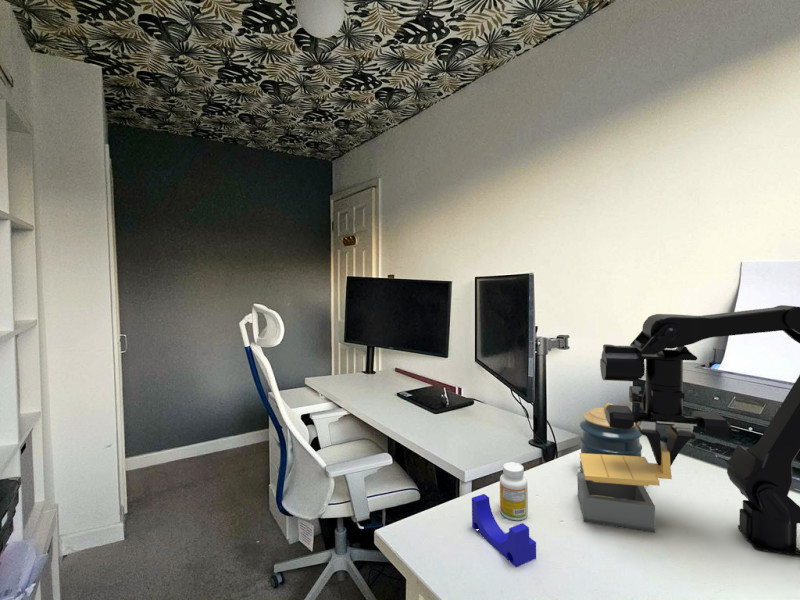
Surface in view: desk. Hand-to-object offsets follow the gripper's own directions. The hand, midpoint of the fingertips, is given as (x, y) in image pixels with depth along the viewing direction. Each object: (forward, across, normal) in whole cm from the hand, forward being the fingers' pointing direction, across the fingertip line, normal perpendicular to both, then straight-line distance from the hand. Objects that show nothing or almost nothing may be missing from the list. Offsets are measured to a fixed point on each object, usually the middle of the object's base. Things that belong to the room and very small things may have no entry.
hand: (663, 465), depth 73 cm
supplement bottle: (+12, +27, +3) cm, 30 cm away
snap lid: (+3, +7, 0) cm, 7 cm away
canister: (+12, +6, -18) cm, 23 cm away
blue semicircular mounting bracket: (+12, +28, +13) cm, 34 cm away
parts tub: (+12, +8, -2) cm, 15 cm away
